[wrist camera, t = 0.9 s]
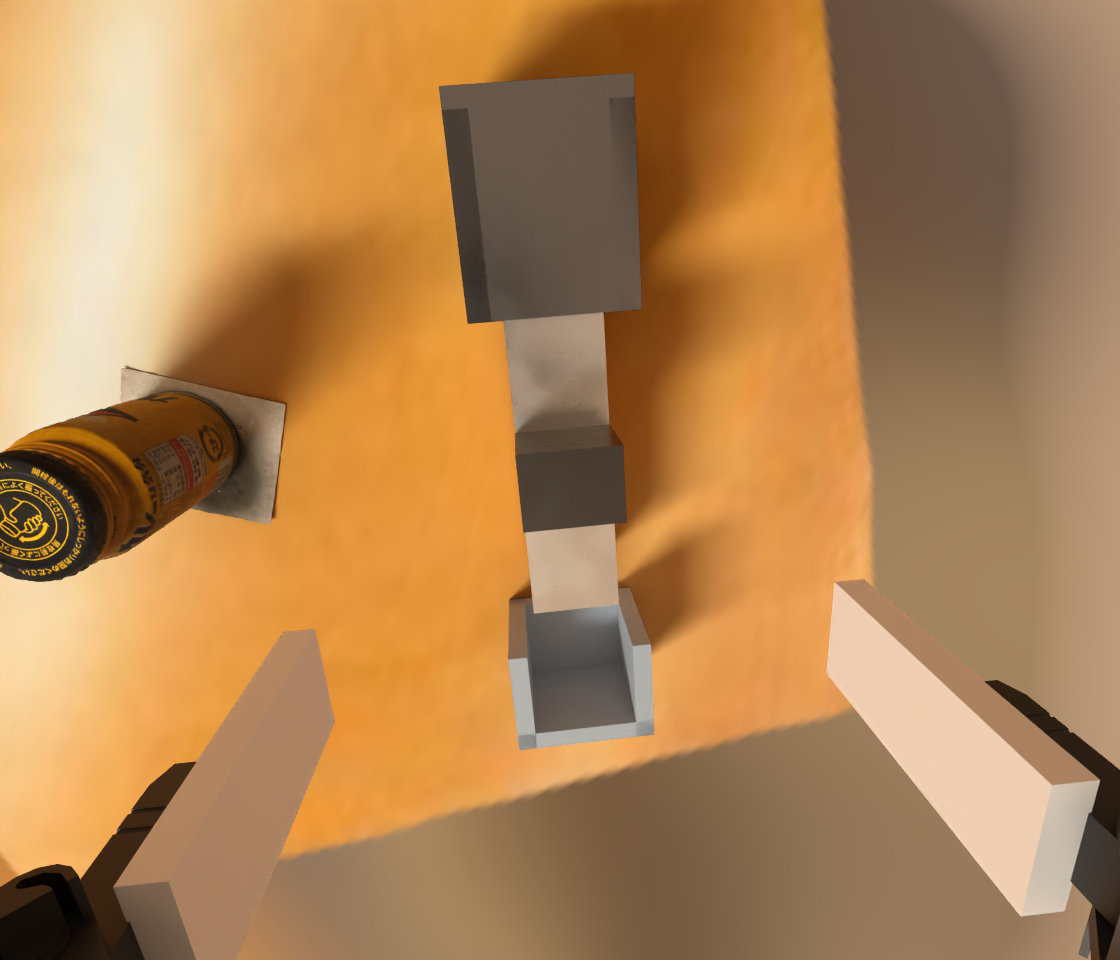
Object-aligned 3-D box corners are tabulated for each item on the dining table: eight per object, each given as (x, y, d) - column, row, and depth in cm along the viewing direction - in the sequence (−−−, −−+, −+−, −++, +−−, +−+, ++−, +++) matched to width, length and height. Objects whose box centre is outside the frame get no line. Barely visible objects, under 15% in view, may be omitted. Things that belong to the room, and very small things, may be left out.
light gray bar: (489, 165, 30) (480, 119, 21) (581, 158, 30) (607, 110, 21) (531, 570, 37) (536, 656, 28) (605, 562, 37) (632, 645, 28)
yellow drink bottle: (123, 367, 32) (-87, 413, 21) (287, 403, 34) (170, 466, 22) (118, 492, 35) (-75, 596, 23) (272, 522, 36) (159, 635, 24)
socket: (509, 599, 38) (508, 659, 32) (629, 587, 39) (650, 644, 33) (518, 679, 40) (519, 750, 34) (633, 666, 41) (654, 734, 35)
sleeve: (456, 131, 30) (438, 86, 23) (606, 120, 30) (633, 72, 23) (477, 314, 33) (467, 323, 26) (614, 302, 33) (641, 309, 26)
